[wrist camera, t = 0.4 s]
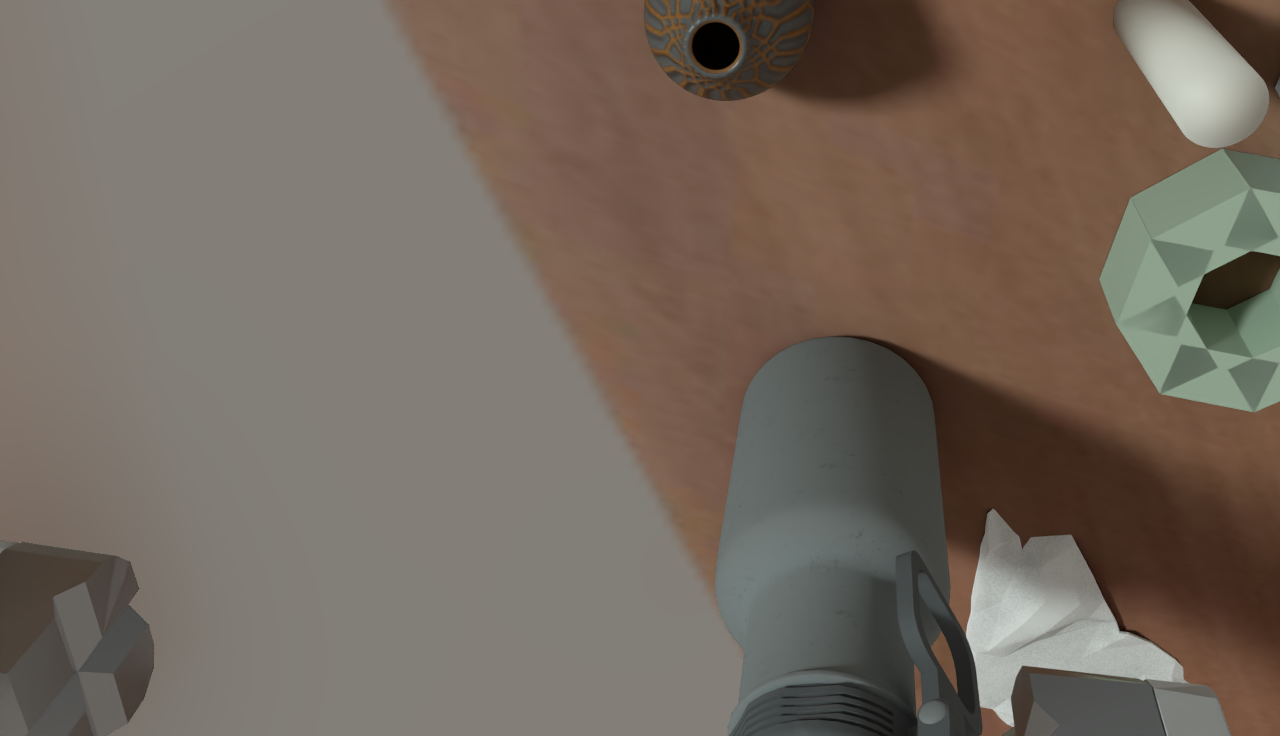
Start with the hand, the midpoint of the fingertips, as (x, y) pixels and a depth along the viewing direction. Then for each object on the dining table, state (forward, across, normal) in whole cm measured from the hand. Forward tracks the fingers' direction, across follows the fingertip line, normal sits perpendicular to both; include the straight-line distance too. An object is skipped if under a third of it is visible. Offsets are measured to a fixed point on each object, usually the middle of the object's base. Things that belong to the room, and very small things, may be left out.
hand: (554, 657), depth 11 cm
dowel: (+45, -15, +5) cm, 47 cm away
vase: (+45, +2, +5) cm, 45 cm away
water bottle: (+45, -4, +26) cm, 52 cm away
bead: (+45, -21, +16) cm, 52 cm away
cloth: (+46, -20, +42) cm, 65 cm away
